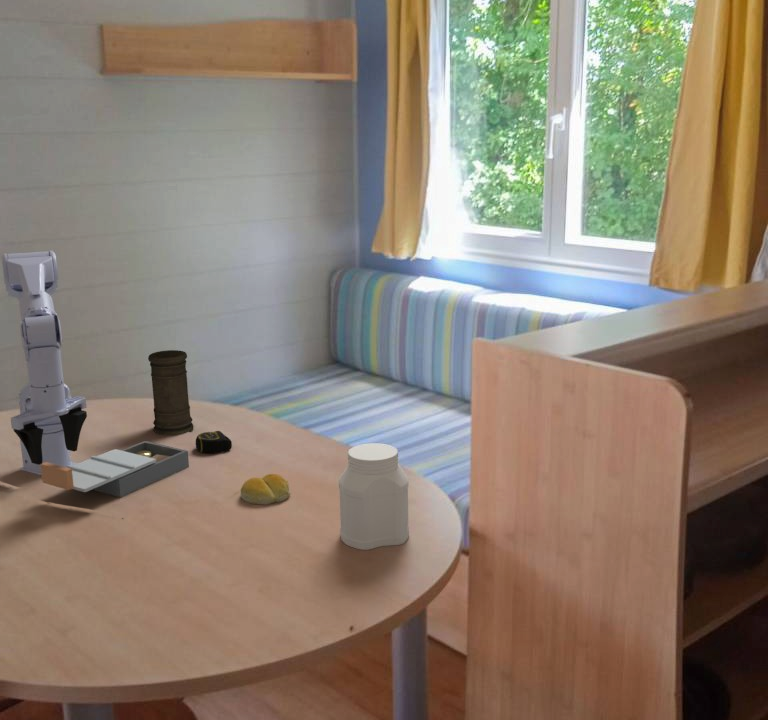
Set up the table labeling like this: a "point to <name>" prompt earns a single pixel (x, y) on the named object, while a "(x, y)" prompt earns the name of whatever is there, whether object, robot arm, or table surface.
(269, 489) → the bread roll
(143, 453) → the brass knob
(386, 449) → the jar
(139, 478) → the tub
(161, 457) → the walnut block
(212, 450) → the tape measure
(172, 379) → the container
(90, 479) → the lid
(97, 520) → the table surface
